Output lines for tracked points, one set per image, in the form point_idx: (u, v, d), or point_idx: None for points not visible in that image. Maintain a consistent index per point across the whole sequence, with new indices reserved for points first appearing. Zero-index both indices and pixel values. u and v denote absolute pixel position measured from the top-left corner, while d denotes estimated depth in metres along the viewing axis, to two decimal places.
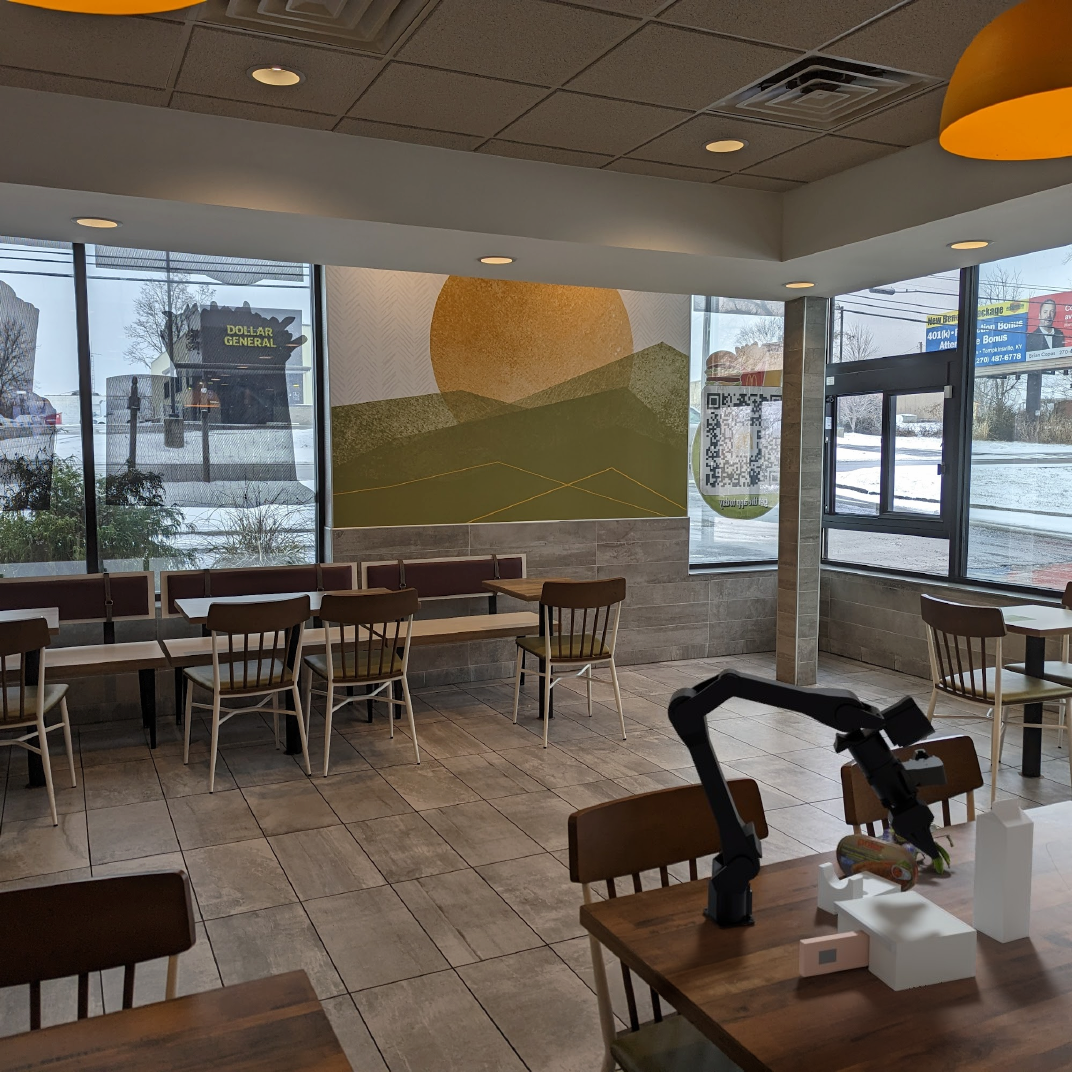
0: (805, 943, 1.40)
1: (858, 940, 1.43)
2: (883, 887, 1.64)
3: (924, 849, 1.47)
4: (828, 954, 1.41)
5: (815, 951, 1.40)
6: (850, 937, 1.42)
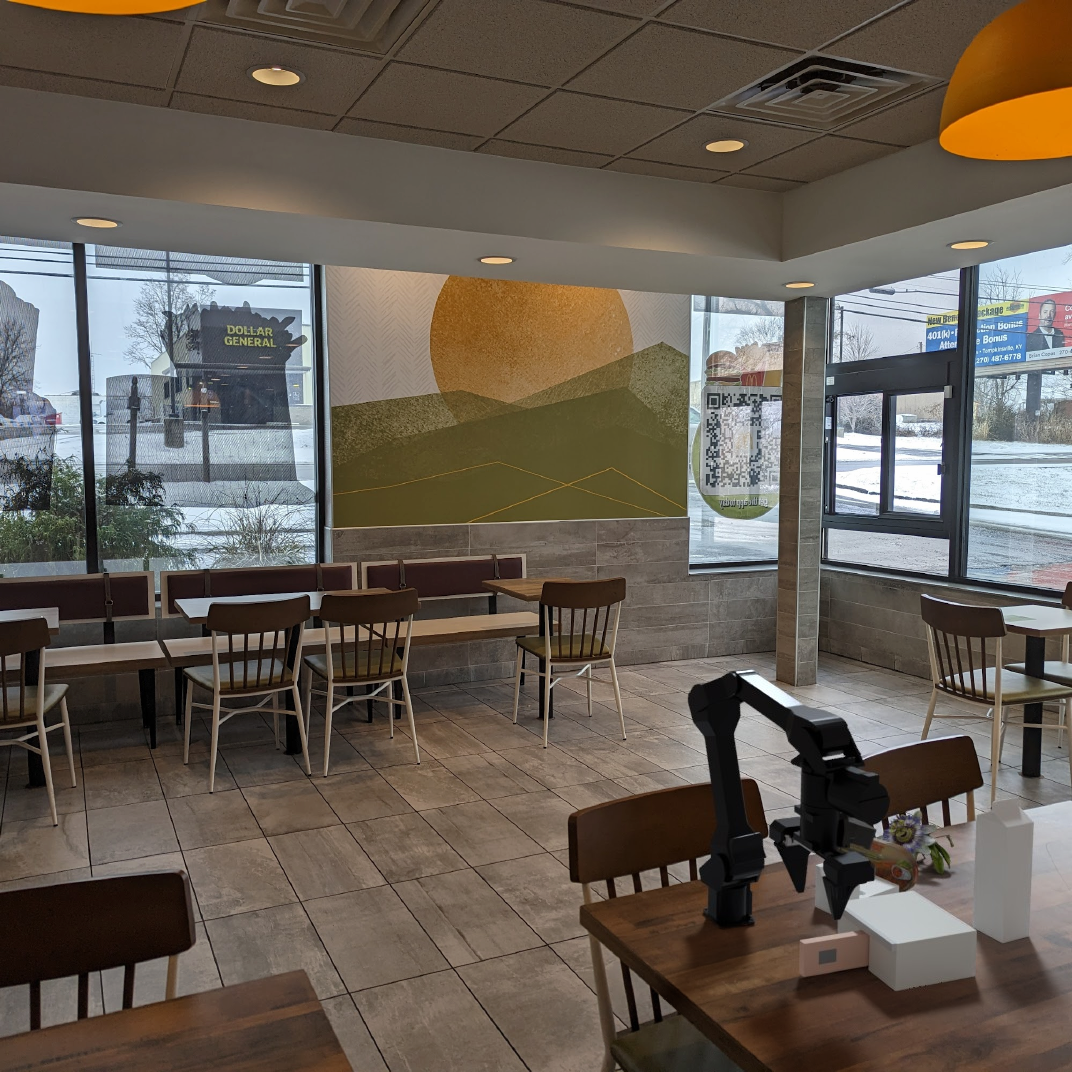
0: (805, 943, 1.40)
1: (858, 940, 1.43)
2: (881, 887, 1.64)
3: (835, 907, 1.35)
4: (828, 954, 1.41)
5: (815, 951, 1.40)
6: (850, 937, 1.42)
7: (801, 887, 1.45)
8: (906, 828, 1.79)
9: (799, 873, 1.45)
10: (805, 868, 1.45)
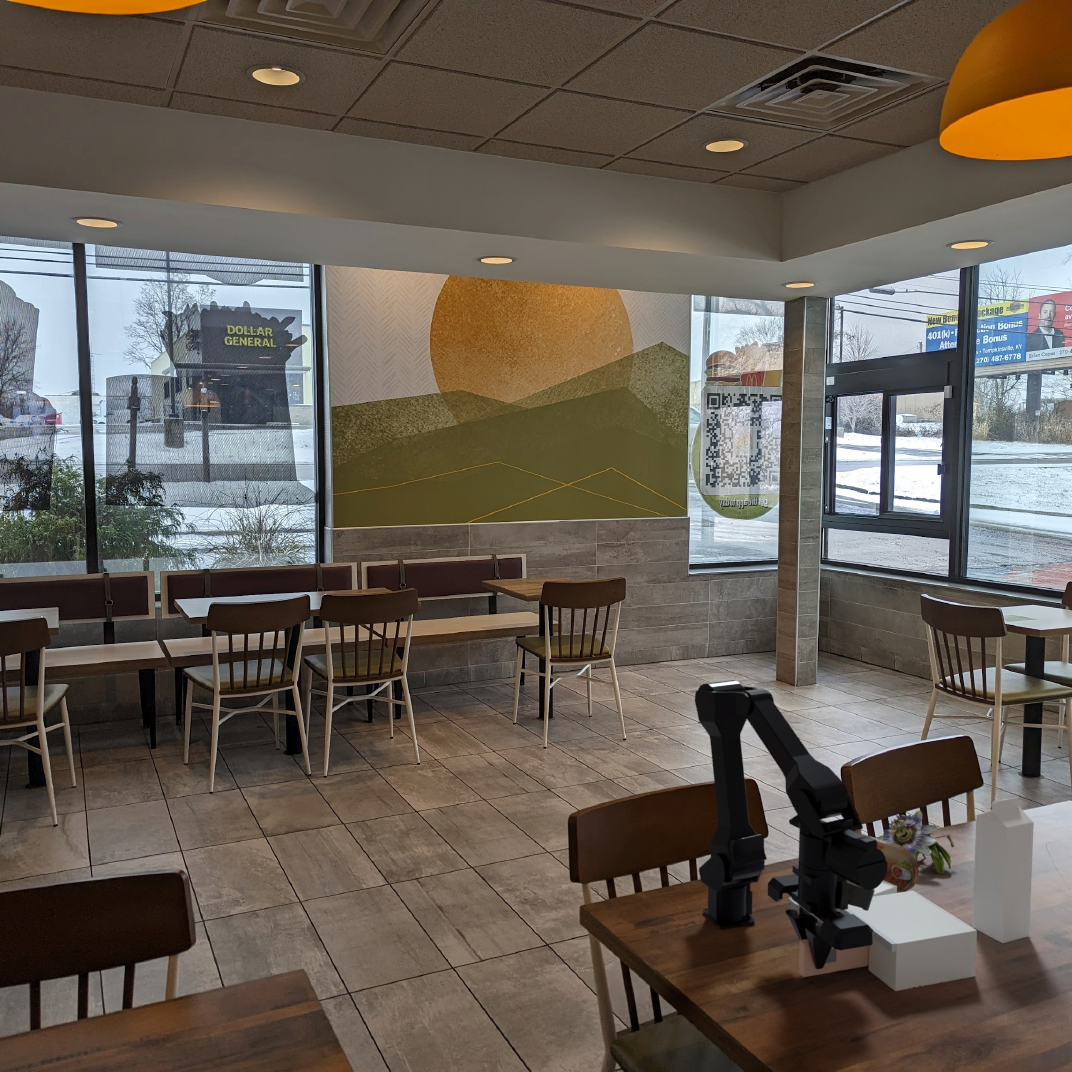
0: (805, 943, 1.40)
1: None
2: (879, 888, 1.64)
3: (818, 956, 1.39)
4: None
5: None
6: None
7: None
8: (906, 828, 1.79)
9: None
10: None
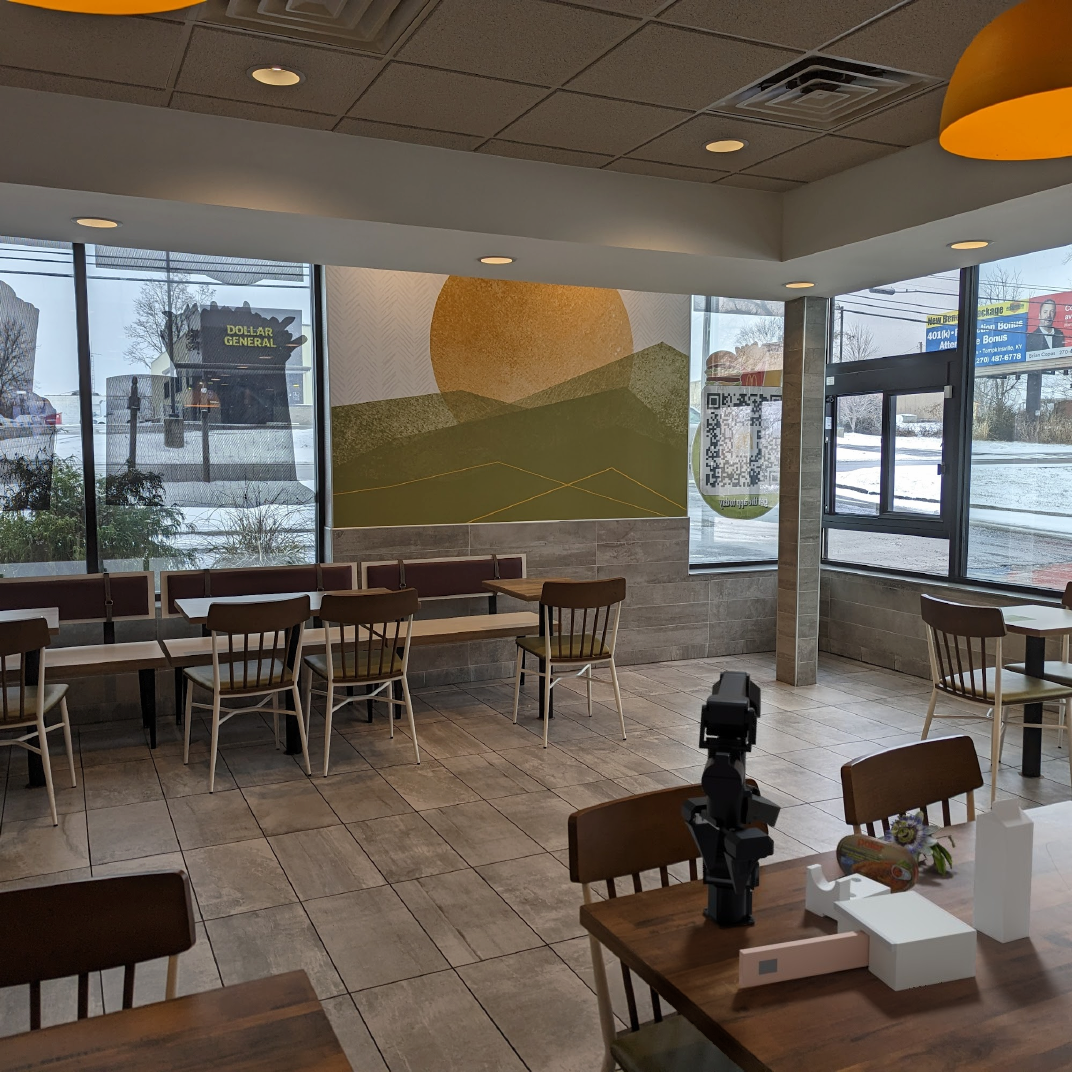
0: (744, 953, 1.37)
1: (800, 949, 1.40)
2: (873, 890, 1.63)
3: (737, 881, 1.40)
4: (768, 964, 1.38)
5: (755, 961, 1.37)
6: (791, 946, 1.39)
7: (711, 863, 1.50)
8: (908, 829, 1.78)
9: (709, 850, 1.50)
10: (715, 845, 1.50)
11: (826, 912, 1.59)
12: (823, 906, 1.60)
